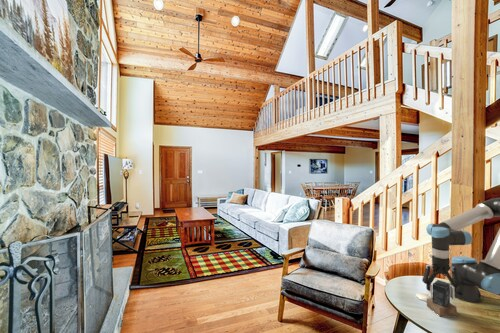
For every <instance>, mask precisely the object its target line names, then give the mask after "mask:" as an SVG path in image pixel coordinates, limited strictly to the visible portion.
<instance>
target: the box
mask: <svg viewBox="0 0 500 333" xmlns="http://www.w3.org/2000/svg"><path fill="white" fill-rule="evenodd" d="M432 296H433V303H435V304H437V305H440V306H443V307H446V306H447V305H448V304H449V303H451V297H450V282H446V281H443V280H439V279H437V280H436V281H435V282H432Z"/></svg>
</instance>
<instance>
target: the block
mask: <svg viewBox="0 0 500 333" xmlns="http://www.w3.org/2000/svg"><path fill="white" fill-rule="evenodd" d="M426 307H427V308H428V309H429V310H430V311H432V312H433V311H434V312H433V313H435V314H436V315H437V314H438V315H439V316H438V315H437V316H438V317H441V318H442V316H445V317H457V316H458V313H457V312H458V311H457V306H455V305H454V304H452V303H451V302H450V303H449V304H448V305H447V306H446V307H443V306H440V305H437V304H435V303H433V298H427V302H426Z"/></svg>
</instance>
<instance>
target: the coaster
mask: <svg viewBox="0 0 500 333" xmlns="http://www.w3.org/2000/svg"><path fill="white" fill-rule="evenodd" d="M415 296H416V298H418V299H419V300H421V301H422V302H426V303H427V298H431V297H430V296H429V295H428V293H424V292H417V293H416V294H415ZM432 298H433V295H432Z"/></svg>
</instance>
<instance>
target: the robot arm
mask: <svg viewBox="0 0 500 333" xmlns="http://www.w3.org/2000/svg"><path fill="white" fill-rule="evenodd" d="M495 217H496V218H500V197H496V198H490V199H487V200H485V201H482V202H480V203H477V204H476V205H475V207H473V208H470V209H468V210H466V211H464V212H461V213H460V214H457V215H455V216H453V217H451V218H449V219H446V220H444V221H441V222H439V223H438V224H436V223H429V224H428V225H426V233H427V234H428V235H429V236H431V262H432V263H431V264H430V265H429V264H425V270H424V274H423V277H422V282H423V283H424V284H426V285H425V286H426V287H425V288H426V290H427V294H428V295H429V296H430V297H431V298H432V296H433V283H434V282H433V281H434V280H435V279H436V277H437V276H438V275H445V276H446V278H447V279H448V282H449V284H450V299H452V300H455V298H456V299H458V300H461V301H464V302H469V303H481V302H482V300H483V297H482V293H481V291H480V289H482V290H484V291H486V292H488V293H490V294H493V295H500V228H499V229H498V231H497V233H496V235H495V238H494V240H493V241H492V244H491V245H490V247H489V250H488V252H487V254H486V256H485V258H484V259H481V260H479V261H478V260H477V259H476V258H474V257H469V256H462V255H461V256H460V255H458V256H456V255H455V256H452V258H451V259H450V246H467V245H471V244H472V243H473V236H472V234H471V233H470V232H469V231H467V230H462V229H465V228H467V227H469V226H472V225H475V224H476V223H479V222H481V221H483V220H485V219H487V220H488V219H492V218H495ZM450 260H451V266H450ZM449 271H451V274H450V273H449ZM479 288H480V289H479Z"/></svg>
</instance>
